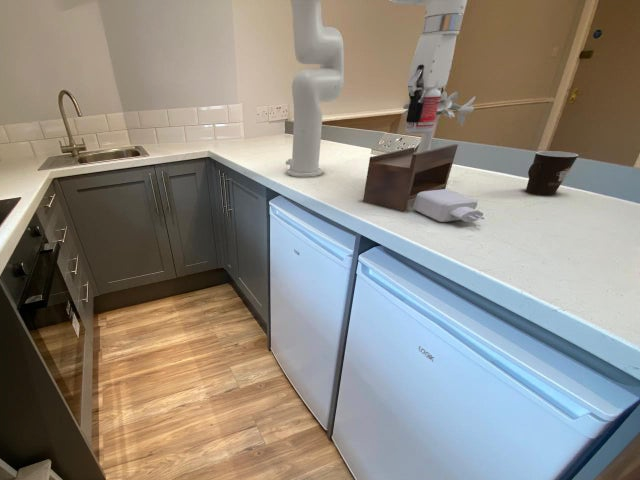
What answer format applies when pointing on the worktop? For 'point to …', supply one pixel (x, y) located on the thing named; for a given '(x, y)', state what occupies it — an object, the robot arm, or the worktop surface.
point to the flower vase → (446, 108)
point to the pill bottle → (426, 111)
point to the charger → (447, 206)
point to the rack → (407, 175)
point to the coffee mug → (549, 171)
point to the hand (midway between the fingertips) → (420, 120)
